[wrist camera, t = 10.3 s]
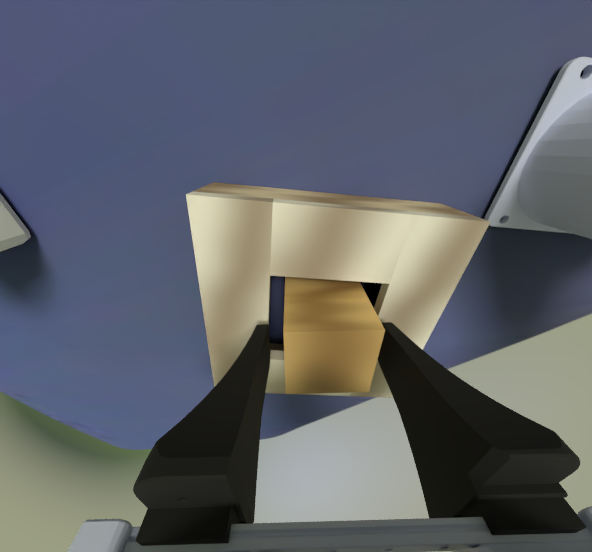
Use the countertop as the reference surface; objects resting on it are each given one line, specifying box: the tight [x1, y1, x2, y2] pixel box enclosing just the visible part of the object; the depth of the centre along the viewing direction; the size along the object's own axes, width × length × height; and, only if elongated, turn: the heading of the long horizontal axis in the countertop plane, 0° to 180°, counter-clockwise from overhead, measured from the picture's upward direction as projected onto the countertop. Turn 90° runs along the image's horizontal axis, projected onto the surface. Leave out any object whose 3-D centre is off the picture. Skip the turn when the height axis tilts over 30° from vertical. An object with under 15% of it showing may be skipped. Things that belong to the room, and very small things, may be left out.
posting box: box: [186, 182, 490, 398], centre depth 15 cm, size 14×14×4 cm
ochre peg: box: [283, 277, 385, 394], centre depth 14 cm, size 4×4×7 cm
